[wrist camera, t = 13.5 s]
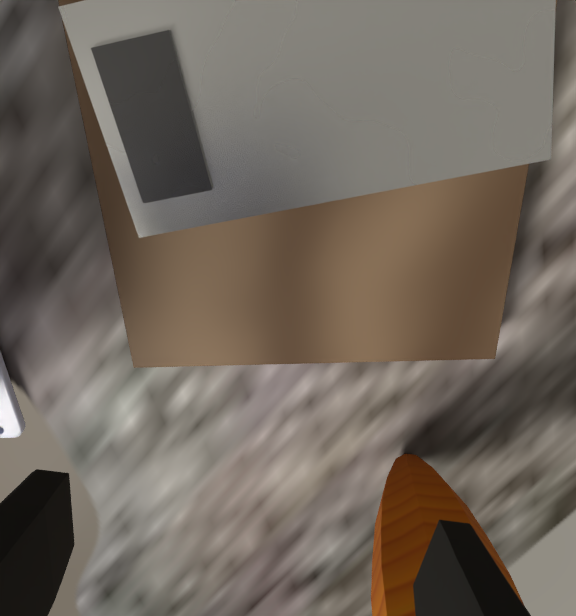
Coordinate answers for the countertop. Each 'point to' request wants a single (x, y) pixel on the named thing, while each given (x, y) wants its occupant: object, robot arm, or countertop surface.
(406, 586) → the carrot
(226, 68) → the cap
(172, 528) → the countertop surface
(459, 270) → the lock board
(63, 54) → the countertop surface
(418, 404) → the countertop surface
